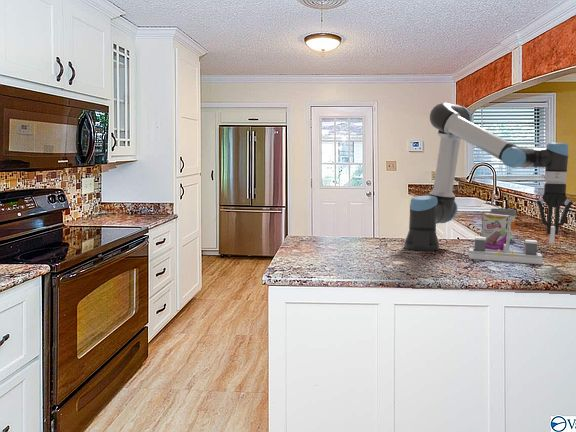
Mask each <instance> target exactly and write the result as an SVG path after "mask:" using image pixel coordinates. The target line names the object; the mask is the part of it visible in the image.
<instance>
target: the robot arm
mask: <svg viewBox="0 0 576 432" xmlns="http://www.w3.org/2000/svg"><path fill="white" fill-rule="evenodd" d="M472 121H473V118H472V113H471V111H470V110H469V109H468V108H467V107H465V106H463V105H461V104H452V103H448V102H440V103H439V104H436V105H435V106H433V107H432V109H431V110H430V113H429V122H430V124H431V126H432V127H434V128H435V129H436V130H438V131H437V134H438V136H439V137H440V142H439V149H438V154H437V155H438V156H437V162H436V169H435V174H434V183H433V189H432V190H431V191H429V193H428V195H417V196H413V197H412V198H411V199H410V204H409V222H408V223H409V225H408V227H409V228H408V233H407V235H406V237H405V240H404V245H403V246H404V248H405V249H407V250H411V251H412V250H413V251H419V252H423V251H424V252H433V251H438V250H440V243H439V240H438V235H437V224H445V223H448V222H450V221H452V220H454V219H455V217H456V215H457V214H458V204H457V203H456V201H455V199H456V195H455V194H454V192H453V190H454V185H455V184H454V183H455V178H456V177H455V176H456V171H457V166H458V157H459V151H460V145H461V140H463V141H465V142H467V143H468V144H470V145H472V146H473V147H476V148H478V149H479V150H482V151H483V152H485V153H487V154H489V155H490V156H492V157H495V158H496V159H498V160H500V161H501V162H502V163H503V164H504V165H505V167H509V168H514V169H516V168H524V169H527V168H544V169H545V171H544V182H545V183H544V184H543V185H544V187H543V195H542V196H541V198H539V199H537V200H535V203H536V205H537V206H538V210H539V215H540V220H541V224H542V225H544V226H546V234H547V235H548V236H549V238H548V243H549V244H555V237H556V236H557V235H558V234H559V227H561V226H564V225H565V223H566V219H567V217H568V214H569V210H570V208H571V206H572V205H573V204H574V202H573V201H572V200H569V199H568V197H567V194H566V193H567V192H566V191H567V184H566V183H567V176H568V163H569V156H570V155H569V145H568V144H567V143H565V142H549V143H547V144H546V147H545V148H529V147H528V148H526V147H520V146H518V145H516V144H514V143H512V142H510V141H508V140H506V139H504V138H502V137H500V136H498V135H496V134H494V133H492V132H490V131H489V130H488V129H485V128H484V127H481V126H479V125H477V124H475V123H473V122H472ZM564 203H565V204H564ZM543 204H545V205H546V206H547V218H546V215H545V214H546V213H545V210H544V205H543ZM563 204H564V205H565V206H564V209H563V210H562V215H561V217H560V209H561V206H562V205H563ZM553 207H554V219H552V218H553V217H552V216H553ZM552 220H554V221H553V225H552Z"/></svg>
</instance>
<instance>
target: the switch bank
mask: <svg viewBox="0 0 576 432" xmlns="http://www.w3.org/2000/svg"><path fill="white" fill-rule="evenodd" d="M468 259H469V260H470V259H471V260H483V261H495V262H507V263H508V262H509V263H519V264H520V263H521V264H533V265H534V264H535V265H543V262H544V258H543V254H541V252H537V254H536V255H527V254H524V251H517V250H509V251H506V244H504V248H503V250H490V249H485V251H474V247H469V249H468Z"/></svg>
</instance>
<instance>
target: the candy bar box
mask: <svg viewBox="0 0 576 432" xmlns="http://www.w3.org/2000/svg"><path fill="white" fill-rule="evenodd" d="M511 219H512V216H510V215H500V214H490V213H489V212H486V213H482V223H481V235H480V237H486V243H485V249H490V250H503V248H504V244H506V251H510V242H511V239H510V231H511Z"/></svg>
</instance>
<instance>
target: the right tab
mask: <svg viewBox="0 0 576 432" xmlns="http://www.w3.org/2000/svg"><path fill="white" fill-rule="evenodd" d="M538 243H539V242H538V241H537V240H536V239H524V249H523V252H524V254H527V255H536V254H537V253H538Z"/></svg>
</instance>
